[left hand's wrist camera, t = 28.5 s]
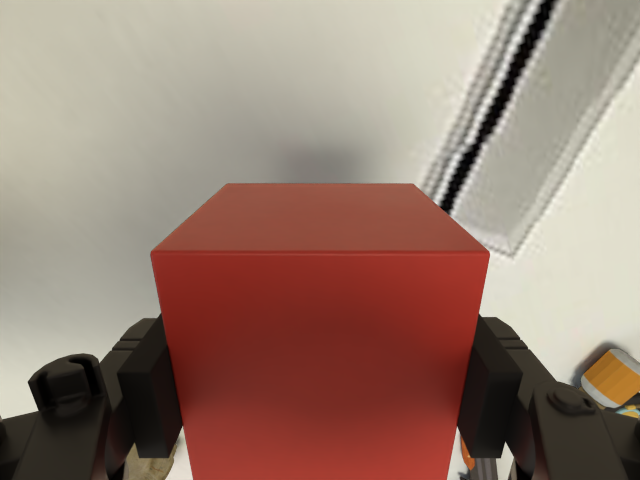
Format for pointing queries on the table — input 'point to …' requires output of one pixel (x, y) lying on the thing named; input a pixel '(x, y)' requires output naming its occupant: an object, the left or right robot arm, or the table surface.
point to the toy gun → (479, 466)
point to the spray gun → (614, 383)
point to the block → (320, 331)
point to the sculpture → (149, 466)
